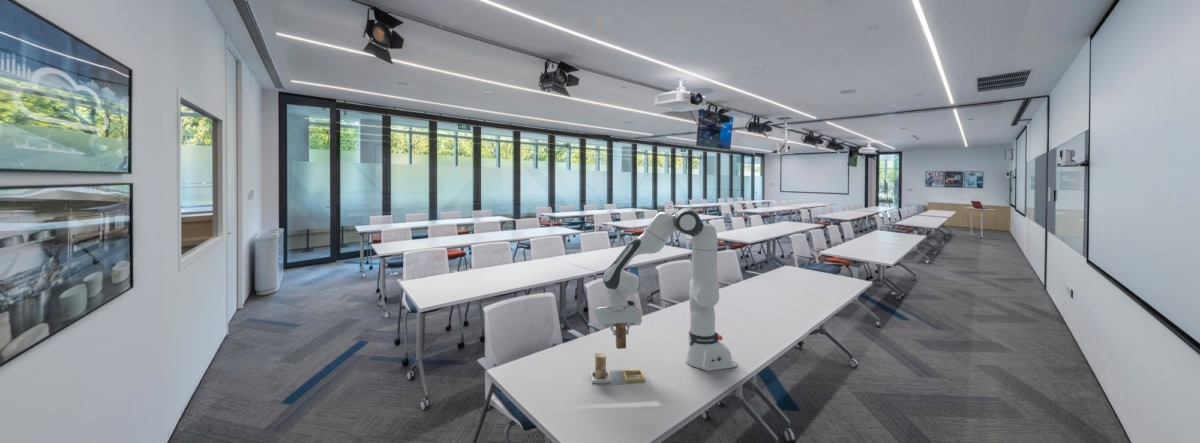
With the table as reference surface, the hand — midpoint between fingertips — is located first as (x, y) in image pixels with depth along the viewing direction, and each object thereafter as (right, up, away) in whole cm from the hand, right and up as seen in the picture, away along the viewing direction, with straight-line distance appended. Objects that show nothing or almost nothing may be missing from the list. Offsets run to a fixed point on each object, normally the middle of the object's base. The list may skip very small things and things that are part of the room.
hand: (621, 334), depth 191 cm
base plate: (-2, -16, -11) cm, 20 cm away
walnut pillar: (0, -6, +1) cm, 6 cm away
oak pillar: (-9, -15, -12) cm, 21 cm away
